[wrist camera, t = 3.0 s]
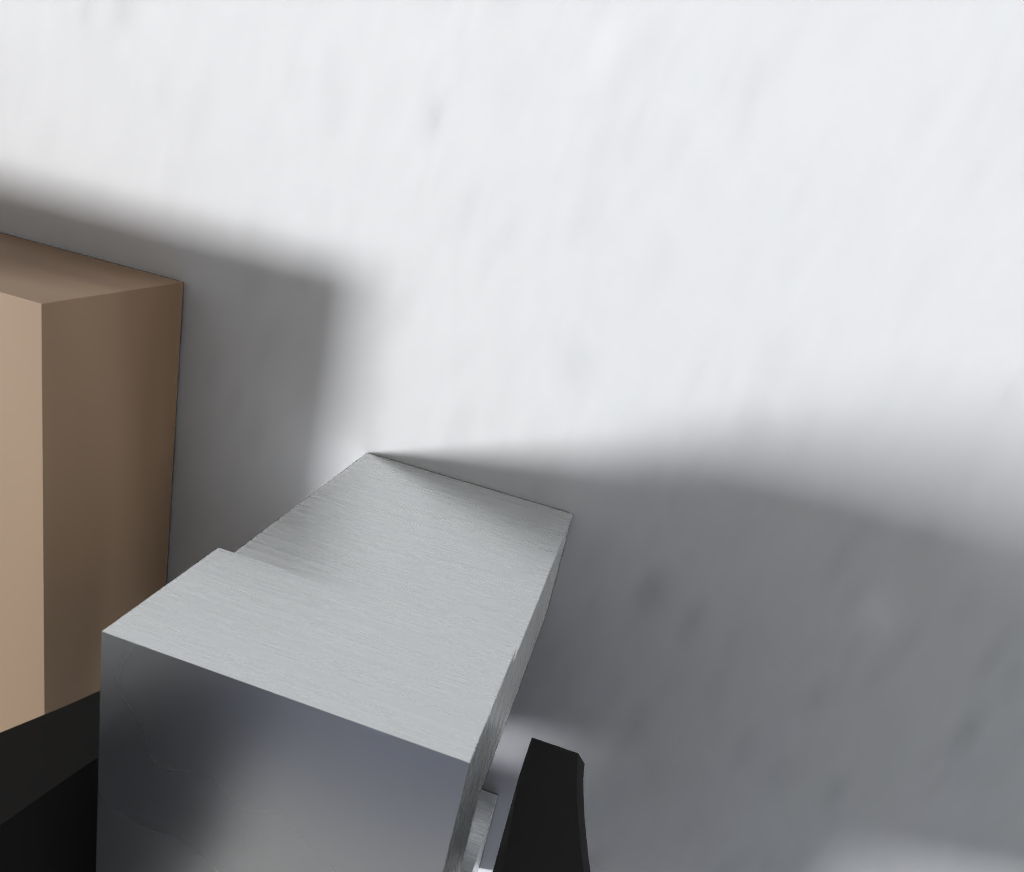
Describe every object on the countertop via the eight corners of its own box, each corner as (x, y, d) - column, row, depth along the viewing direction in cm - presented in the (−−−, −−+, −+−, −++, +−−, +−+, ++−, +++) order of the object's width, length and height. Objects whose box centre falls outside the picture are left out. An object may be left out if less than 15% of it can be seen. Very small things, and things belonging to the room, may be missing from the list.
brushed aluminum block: (576, 500, 10) (469, 762, 5) (476, 877, 12) (341, 1288, 8) (368, 439, 10) (100, 631, 6) (310, 814, 13) (88, 1166, 8)
